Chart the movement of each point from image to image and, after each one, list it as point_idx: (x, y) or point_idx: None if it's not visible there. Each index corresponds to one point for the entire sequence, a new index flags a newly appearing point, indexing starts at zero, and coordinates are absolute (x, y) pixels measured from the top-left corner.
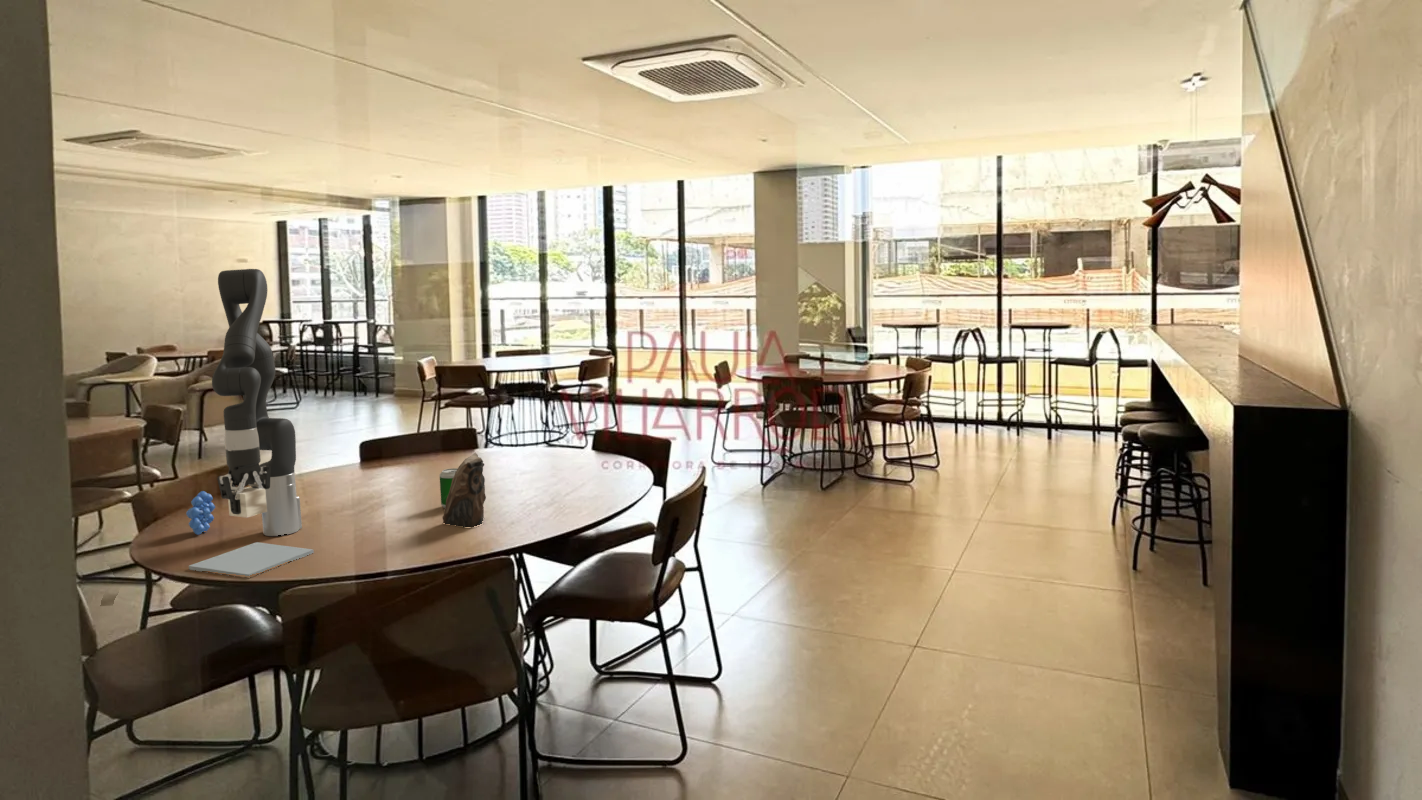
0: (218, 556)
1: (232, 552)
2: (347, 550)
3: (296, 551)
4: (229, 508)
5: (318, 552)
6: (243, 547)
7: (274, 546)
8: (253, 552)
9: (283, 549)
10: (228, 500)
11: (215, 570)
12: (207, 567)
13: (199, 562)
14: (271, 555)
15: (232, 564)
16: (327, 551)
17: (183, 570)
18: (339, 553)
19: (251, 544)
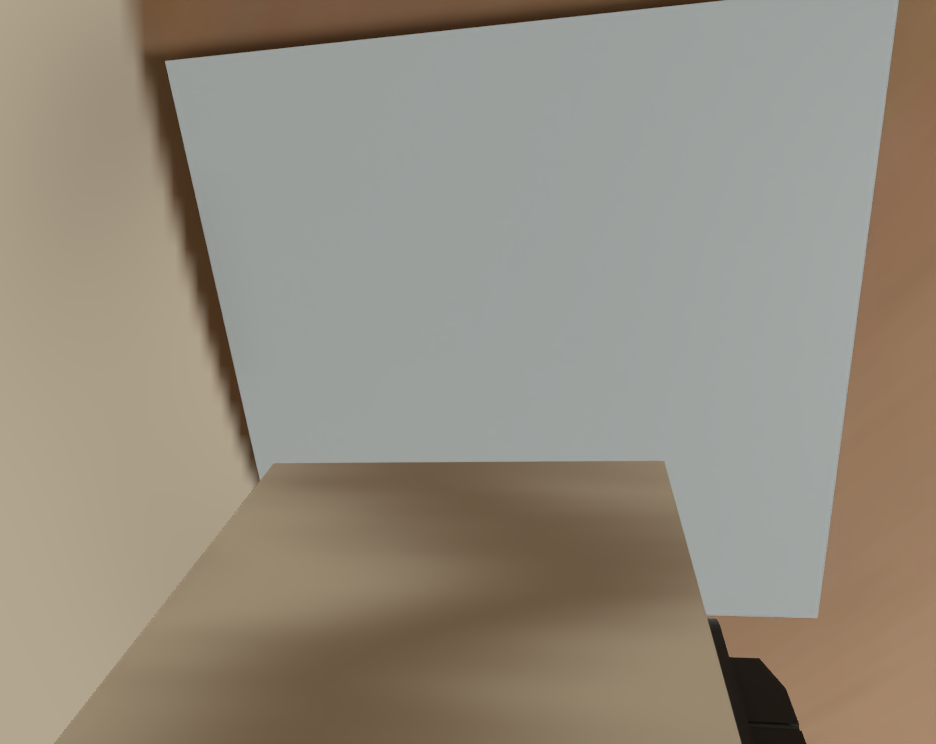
0: (422, 66)
1: (553, 76)
2: (916, 740)
3: (742, 548)
4: (223, 547)
5: (832, 613)
6: (708, 25)
7: (813, 290)
8: (617, 264)
9: (759, 426)
10: (128, 663)
11: (232, 347)
12: (224, 252)
13: (252, 64)
14: (608, 455)
15: (351, 364)
16: (867, 650)
17: (151, 33)
18: (845, 733)
19: (816, 8)
